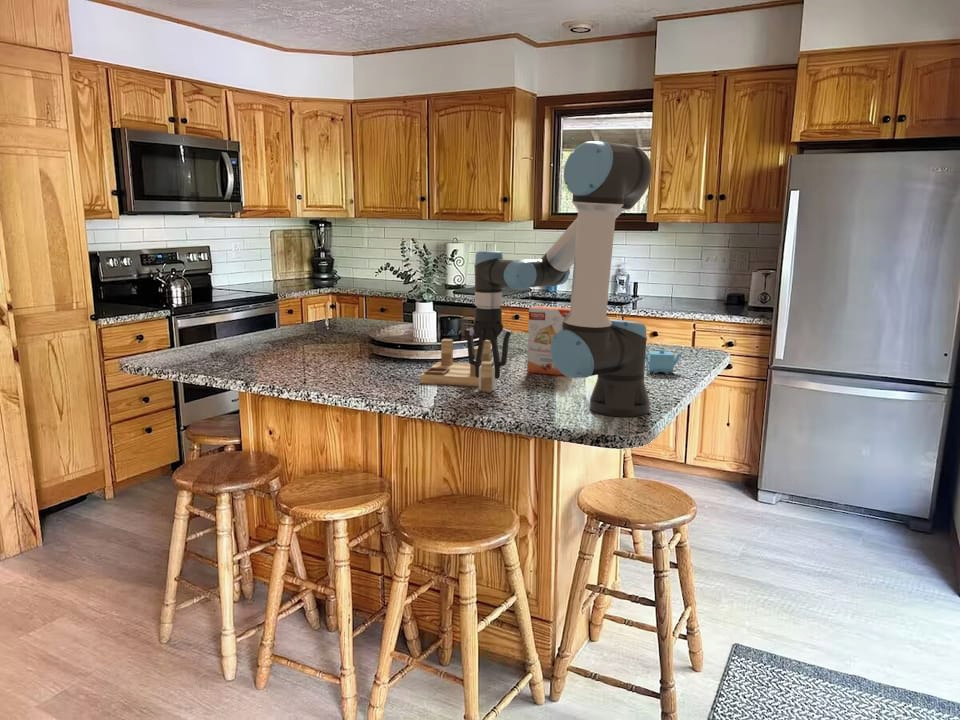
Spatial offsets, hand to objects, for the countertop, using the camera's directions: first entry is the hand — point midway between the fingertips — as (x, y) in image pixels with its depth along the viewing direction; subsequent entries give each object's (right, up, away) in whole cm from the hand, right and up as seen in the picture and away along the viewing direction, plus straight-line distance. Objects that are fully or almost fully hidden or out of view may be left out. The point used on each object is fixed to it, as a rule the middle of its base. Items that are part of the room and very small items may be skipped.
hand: (487, 388), depth 203 cm
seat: (-8, +3, +16) cm, 18 cm away
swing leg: (-1, +6, +16) cm, 17 cm away
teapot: (+56, +4, +25) cm, 62 cm away
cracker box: (+20, +4, +23) cm, 31 cm away
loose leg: (0, 0, 0) cm, 0 cm away
